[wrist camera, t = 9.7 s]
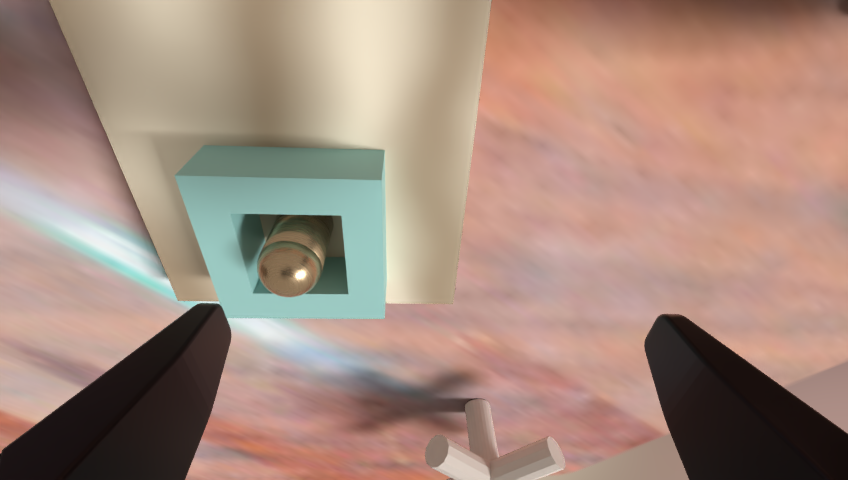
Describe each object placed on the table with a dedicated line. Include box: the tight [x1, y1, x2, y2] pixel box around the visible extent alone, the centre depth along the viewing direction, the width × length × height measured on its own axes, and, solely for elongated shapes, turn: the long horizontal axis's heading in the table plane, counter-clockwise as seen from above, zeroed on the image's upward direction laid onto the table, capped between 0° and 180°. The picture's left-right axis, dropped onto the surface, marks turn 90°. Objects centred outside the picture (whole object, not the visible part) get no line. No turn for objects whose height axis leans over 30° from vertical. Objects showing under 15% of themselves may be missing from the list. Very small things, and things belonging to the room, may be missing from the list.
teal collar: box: [174, 145, 387, 319], centre depth 17 cm, size 7×7×2 cm
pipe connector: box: [425, 399, 565, 480], centre depth 26 cm, size 10×10×10 cm
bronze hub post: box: [257, 214, 334, 297], centre depth 17 cm, size 2×2×4 cm
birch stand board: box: [49, 0, 492, 304], centre depth 14 cm, size 14×22×6 cm, turn 177°
